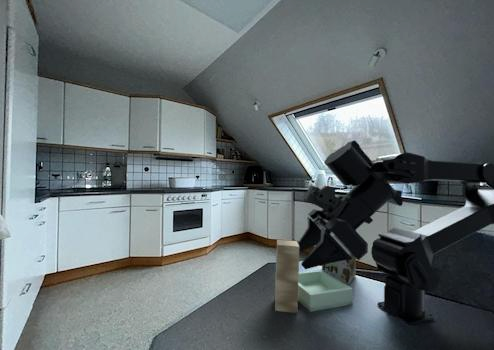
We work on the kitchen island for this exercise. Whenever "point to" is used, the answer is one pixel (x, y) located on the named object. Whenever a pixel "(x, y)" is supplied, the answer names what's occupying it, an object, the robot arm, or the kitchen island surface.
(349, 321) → the kitchen island surface
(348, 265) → the coffee box
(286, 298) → the oak block
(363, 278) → the kitchen island surface
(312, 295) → the tray
